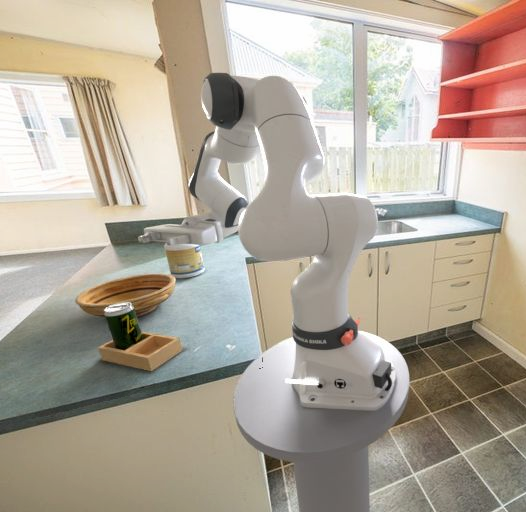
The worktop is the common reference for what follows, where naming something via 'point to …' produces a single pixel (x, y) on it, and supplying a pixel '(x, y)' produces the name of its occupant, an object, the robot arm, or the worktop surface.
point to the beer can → (123, 325)
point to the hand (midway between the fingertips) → (154, 241)
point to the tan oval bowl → (128, 293)
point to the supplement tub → (184, 260)
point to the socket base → (143, 351)
